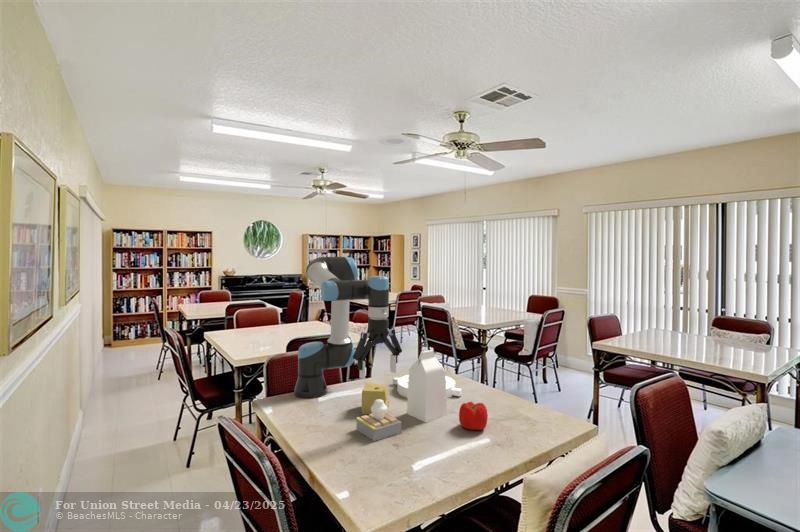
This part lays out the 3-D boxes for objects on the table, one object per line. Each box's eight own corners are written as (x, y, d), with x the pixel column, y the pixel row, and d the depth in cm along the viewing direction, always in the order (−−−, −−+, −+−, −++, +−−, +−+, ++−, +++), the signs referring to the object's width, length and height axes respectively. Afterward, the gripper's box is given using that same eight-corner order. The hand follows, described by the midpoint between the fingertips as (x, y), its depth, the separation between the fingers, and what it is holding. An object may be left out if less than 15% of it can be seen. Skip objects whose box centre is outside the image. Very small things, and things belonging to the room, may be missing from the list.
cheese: (388, 406, 173) (388, 383, 173) (385, 415, 162) (385, 391, 162) (365, 405, 174) (365, 382, 174) (360, 414, 163) (360, 390, 163)
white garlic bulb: (368, 415, 149) (368, 397, 149) (384, 413, 152) (384, 395, 151) (373, 422, 144) (373, 403, 143) (389, 419, 146) (389, 400, 146)
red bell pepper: (488, 422, 156) (488, 399, 156) (486, 435, 145) (486, 411, 144) (460, 419, 159) (461, 397, 159) (456, 432, 147) (457, 407, 147)
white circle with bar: (464, 398, 184) (464, 388, 184) (406, 403, 177) (406, 393, 177) (442, 380, 211) (442, 371, 211) (391, 384, 204) (391, 375, 204)
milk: (425, 422, 156) (426, 356, 155) (406, 413, 165) (407, 350, 164) (447, 414, 164) (447, 351, 163) (427, 406, 173) (428, 346, 172)
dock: (356, 429, 149) (356, 416, 149) (383, 421, 156) (383, 409, 156) (373, 441, 139) (373, 427, 139) (401, 432, 147) (401, 419, 146)
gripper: (354, 322, 137) (353, 384, 137) (411, 316, 152) (410, 371, 152) (343, 319, 143) (343, 378, 143) (399, 314, 158) (399, 367, 158)
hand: (378, 375), depth 148 cm, fingers open, 13 cm apart
